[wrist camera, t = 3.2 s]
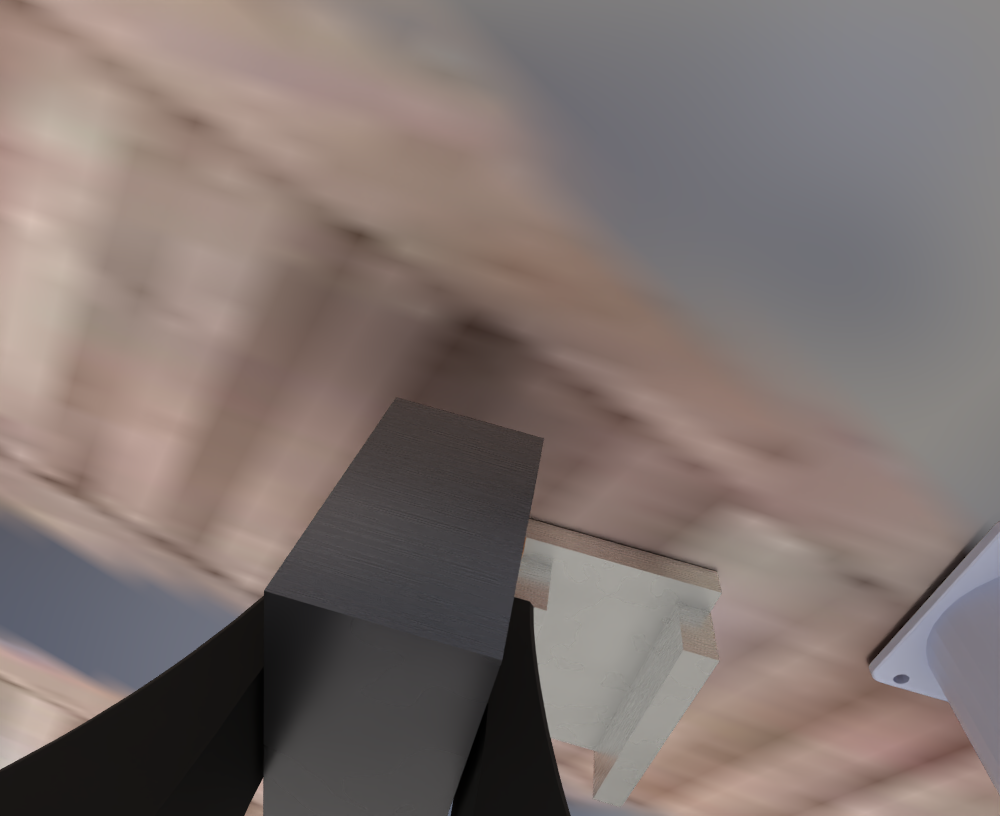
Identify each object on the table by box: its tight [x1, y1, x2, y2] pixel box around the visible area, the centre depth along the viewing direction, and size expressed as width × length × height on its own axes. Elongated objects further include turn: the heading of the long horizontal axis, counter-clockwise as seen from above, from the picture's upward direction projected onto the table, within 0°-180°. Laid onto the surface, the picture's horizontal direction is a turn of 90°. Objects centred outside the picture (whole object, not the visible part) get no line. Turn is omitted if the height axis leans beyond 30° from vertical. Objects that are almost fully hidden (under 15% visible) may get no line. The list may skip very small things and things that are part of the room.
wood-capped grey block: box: [263, 397, 544, 816], centre depth 11 cm, size 3×7×5 cm, turn 168°
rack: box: [514, 519, 722, 807], centre depth 22 cm, size 13×11×3 cm
